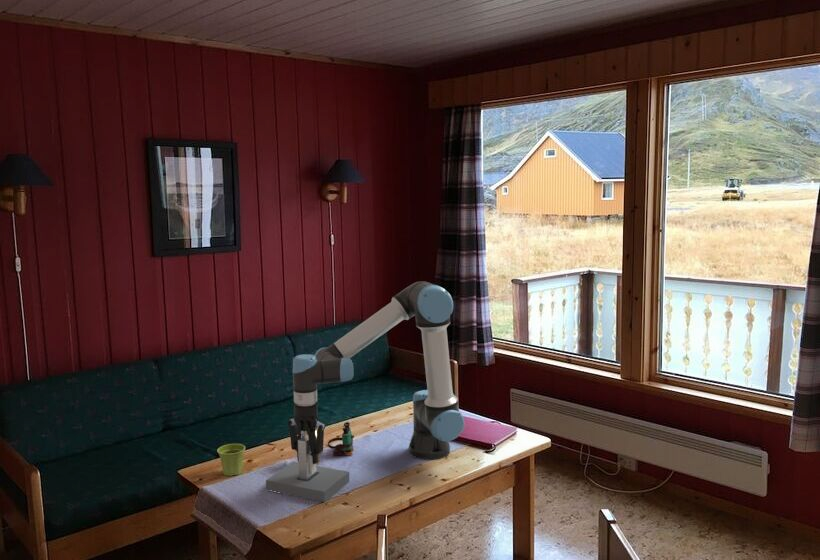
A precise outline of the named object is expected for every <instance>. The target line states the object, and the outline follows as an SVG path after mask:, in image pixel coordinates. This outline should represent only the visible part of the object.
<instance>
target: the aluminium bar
mask: <svg viewBox="0 0 820 560" xmlns="http://www.w3.org/2000/svg"><path fill="white" fill-rule="evenodd" d="M310 454H311V448H310V443H309V437H308V435H305V436H304V437H302V438H301V439H299V440H298V457H299V461H298V463H299V480H302V481H307V482H308V481H309V480H311V479H312V478H313V477H315V476H316V475H317V466H318V464H317V463H316V472H314V473H313V474H310V462H309V455H310Z"/></svg>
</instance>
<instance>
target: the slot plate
mask: <svg viewBox="0 0 820 560" xmlns="http://www.w3.org/2000/svg"><path fill="white" fill-rule="evenodd" d="M349 483H350V471H347V470H341V469H336V468H331V467H330V468H329V467H324V466H318V465H317V475H316V476H315V477H313V478H312V479H311V480H309V481H308V482H307V481H302V480H299V461H298V462H297V461H292V462H290V463H289V464H288V465H286V466H285V467H283V468H282V469H280V470H279V471H277V472H276V473H274V474H273V475H271V476H269V477H268V478H267V479H266V480H265V490H266V489H267V490H272V491H276V492H275V493H277V492H280V493H279V494H282V493H285V494H284V495H286V494H289V495H288V496H291V495H294V496H293V497H296V496H297V498H303V499H306V500H312V501H315V502H316V501H317V502H319V503H321V502H322V503H326V502H327V501H329V499H331V498H332V497H333V496H334V495H336V494H337V493H338V492H339V491H340V490H342V489H343V488H344V487H346V485H347V484H349ZM267 490H266V491H267ZM272 491H271V492H272Z"/></svg>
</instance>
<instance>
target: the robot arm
mask: <svg viewBox="0 0 820 560" xmlns="http://www.w3.org/2000/svg"><path fill="white" fill-rule="evenodd" d="M453 311H454V300H453V297H452V295H451V294H450V293H449V291H447V290H446V289H445V288H443V287H441V286H440V285H437V284H434V283H431V282H428V281H416V282H414V283H412V284H410V285H409V286H407V287H406V288H404V289H403V290H401V291H400V292H398V293H397V294H396V295H394V296H392V298H391V302H389V303H388V304H386V305H385V306H383V307H382V308H380V310H378V311H377V312H375V313H374V314H372V315H371V316H369V318H367V319H365V320H364V321H363V322H361V323H359V325H357V326H356V327H354V328H353V329H351V330H350V331H348V332H347V333H346V334H345V335H343V336H342V337H340V338H339V339H338V340H336V341H335V342H333V343H332V344H330V345H329V346H328V347H321V348H319V349H317V351H316V352H315V354H309V353H308V354H304V353H303V354H298V355H296V356H294V357H293V359H292V370H291V371H292V383H293V385H292V386H293V403H294V405H293V411H294V412H293V414H294V417H293V418H290V419H289V420H288V421H287V425H288V427H289V437H290V446H291V450H293V451H295V452H296V456H297V457H296V458H297V461H298V462H299V457H298V440H299V439H301V438H302V437H304V436H305V431H307V435H308V437H309V443H310V448H311V454H310V455H309V462H310V474H313V473H314V472H316V463H317V462H318V454H319V453H320V454H321V453H322V452H323V451H324V439H325V438H324V436H325V435H324V433H325V428H326V425H327V424H326V423H325V422H324V423H322V422H320V421H319V418H318V412H319V411H318V408H319V407H318V385H320V384H329V383H332V384H333V383H344V382H348V381H352V380H353V378H354V370H355V369H354V363H353V361H352V359H351V358H352V357H353V356H355V355H356V354H358V353H359V352H361V350H363V349H364V348H366V347H367V346H369V345H370V344H371V343H373V342H374V341H376V340H377V339H378V338H379V337H382V336H383V335H384V334H386V333H387V332H388V331H389V330H391V329H392V328H394V327H395V326H397V325H398V324H399V323H401V322H402V321H404V320H406V321H409V320H410V319H411V318H413V317H415V326H416V328H418V329H420V331H421V341H422V348H423V349H422V350H423V360H424V368H425V370H424V371H425V378H426V388H427V389H423V390H419V391H416V392H414V394H413V397H412V398H413V399H412V405H413V406H412V408H413V409H412V410H413V411H412V412H413V413H412V415H413V416H412V417H413V419H412V420H413V432H412V435H411V438H410V441H409V445H408V450H409V451H408V453H409V454H410V455H411V456H412V457H414V458H417V459H421V460H437V459H442V458H445V457H447V456H448V455H450V453H451V446H450V442H451V441H453V440H456V439H457V438H458V437H459V436H460V435H461V434H462V432H463V430H464V429H465V418H464V416H463V414H462V413H461V412H460V408H459V400H458V397H457V396H456V395H455V394H454V393H453V392H454V391H453V382H452V373H451V371H452V370H451V363H450V351H449V342H448V340H449V339H448V331H447V328H448V326H450V324H451V315H452V314H453ZM315 428H317V429H318V430H317V440H316V434H315V432H316V429H315Z"/></svg>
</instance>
